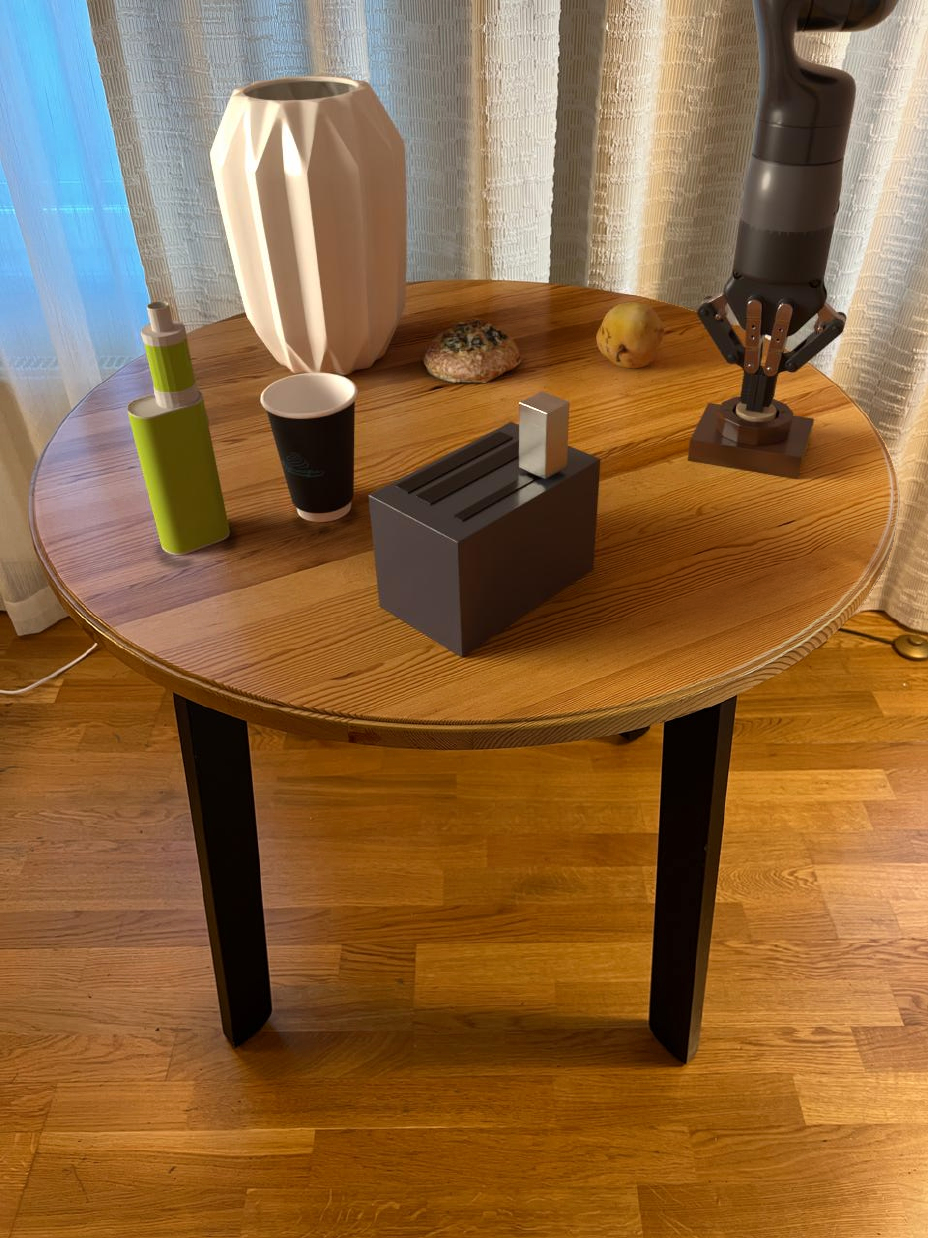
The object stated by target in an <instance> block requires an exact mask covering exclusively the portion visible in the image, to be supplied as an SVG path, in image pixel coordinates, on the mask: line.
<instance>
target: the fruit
mask: <svg viewBox="0 0 928 1238" xmlns="http://www.w3.org/2000/svg"><path fill="white" fill-rule="evenodd" d="M664 338H665V327H664V324H663V321H662V320H661V318H660V317H659V316H658V314H657V312H656V311H655V309H654V308H653V307H651V306H650V305H648V304H645V303H641V302H632V301H628V302H622V303H619V304H617V305H615V306H613V307H612V308H610V309H609V310H608V312H607V313H606V314H605V316H604V318H603V320H602V322H601V324H600V325H599V328H598V330H597V332H596V337H595V339H596V344H597V347H598V350H599V352H600V353H601V354H602V355H604V357H606V358H607V359H608V360H609V361H610V362H611V363H612V364H614V365H615V366H618V367H622V368H625V369H639V368H643V367H645V366H647V365H649V364H650V363H652V362H653V361H654V360H655V359H656V357H657V354H658V351H659V349H660V346H661V344H662V342H663V341H664Z"/></svg>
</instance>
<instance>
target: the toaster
mask: <svg viewBox="0 0 928 1238" xmlns="http://www.w3.org/2000/svg"><path fill="white" fill-rule="evenodd" d="M600 476H601V458H599V457H598V456H594V455H592V454H590V453H588V452H585V451H583V450H581V449H578V448H575V447H574V446H571V445H568V452H567V467H566V468H564V469H563V470H561V471H559V472H557V473H556V474H554V475H552V476H551V477H549V478H547V479H543V478H541V477H539V476H537V475H535V474H532V473H530V472H528V471H526V470H524V469H521V468H519V423H516V422H513V421H509V422H508V423H506V424H504V425H502V426H500V427H498V428H496V429H494V430H492V431H490V432H487V433H486V434H484V435H483V436H480V437H479V438H476V439H474V440H473V441H471V442H469V443H466V444H465V445H463V446H461V447H459V448H457V449H455V450H453V451H451V452H449V453H447V454H446V455H443V456H441V457H440V458H437V459H436V460H434V461H432V462H430V463H428V464H426V465H424V466H422V467H420V468H418V469H416V470H414V471H412V472H410V473H408V474H406V475H405V476H402V477H401V478H399V479H397V480H395V481H393V482H390V483H389V484H387V485H385V486H383V487H381V488H379V489H377V490H375V491H373V492H371V493H370V494H368V505H369V514H370V524H371V525H370V526H371V533H372V535H371V536H372V545H373V554H374V555H373V557H374V565H375V575H376V587H377V595H378V596H377V597H378V604H379V608H380V609H383V610H384V611H386V612H387V613H389V614H391V615H392V616H394V617H396V618H397V619H399V620H400V621H402V622H404V623H405V624H407V625H409V626H410V627H412V628H413V629H415V630H416V631H418V632H419V633H421V634H423V635H424V636H426V637H427V638H429V639H431V640H433V641H434V642H436V643H438V644H439V645H441V646H442V647H444V648H446V649H447V650H449V651H450V652H452V653H454V654H455V655H457V656H459V657H460V658H462V659H463V658H464V657H466V656H467V655H469V654H470V653H471V652H473V651H475V650H477V649H478V648H479V647H480V646H483V644H485V643H487V642H488V641H489V640H491V639H492V638H493V637H495V636H497V635H499V634H500V633H501V632H503V631H504V630H506V629H507V628H508V627H510V626H512V625H513V624H515V623H516V622H517V621H519V620H520V619H522V618H524V617H525V616H526V615H528V614H529V613H530V612H532V611H533V610H535V609H537V608H539V607H540V606H541V605H543V604H544V603H546V602H547V601H549V600H550V599H552V598H553V597H555V596H556V595H558V594H559V593H560V592H562V591H563V590H565V589H566V588H568V587H569V586H571V585H572V584H574V583H575V582H577V581H578V580H580V579H581V578H583V577H584V576H585V575H587V574H589V573H590V572H592V571H594V568H595V558H596V557H595V555H596V539H597V538H596V537H597V525H598V523H597V522H598V509H599V508H598V507H599V489H600Z"/></svg>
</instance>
